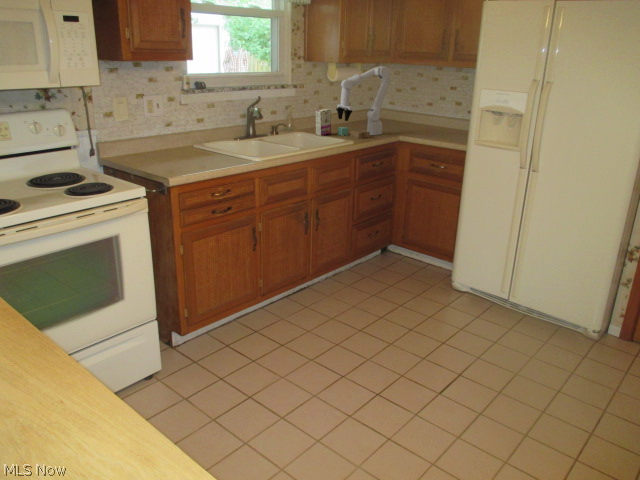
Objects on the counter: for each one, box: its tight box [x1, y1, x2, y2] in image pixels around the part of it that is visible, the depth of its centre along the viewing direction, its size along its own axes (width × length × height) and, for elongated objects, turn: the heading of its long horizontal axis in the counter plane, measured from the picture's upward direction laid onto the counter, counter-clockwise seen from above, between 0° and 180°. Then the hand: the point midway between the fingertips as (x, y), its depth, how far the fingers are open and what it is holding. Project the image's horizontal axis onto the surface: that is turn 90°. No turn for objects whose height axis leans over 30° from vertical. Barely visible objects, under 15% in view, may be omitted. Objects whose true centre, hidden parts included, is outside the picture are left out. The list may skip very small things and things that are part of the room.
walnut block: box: [349, 129, 371, 140], centre depth 348 cm, size 9×9×4 cm
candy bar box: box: [315, 108, 332, 136], centre depth 353 cm, size 11×5×16 cm, turn 143°
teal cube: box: [337, 126, 349, 137], centre depth 356 cm, size 5×5×5 cm
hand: (343, 120), depth 353 cm, fingers open, 7 cm apart
